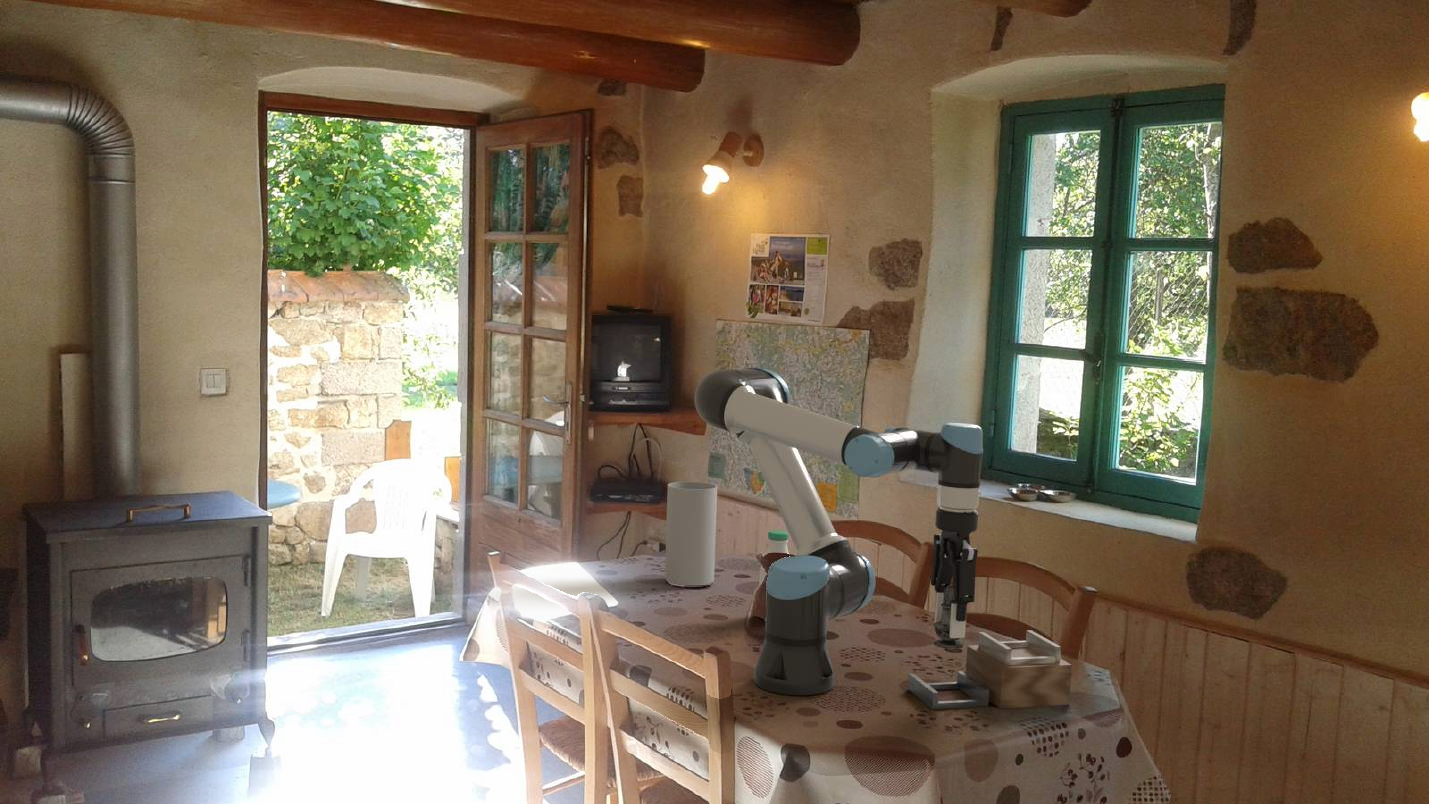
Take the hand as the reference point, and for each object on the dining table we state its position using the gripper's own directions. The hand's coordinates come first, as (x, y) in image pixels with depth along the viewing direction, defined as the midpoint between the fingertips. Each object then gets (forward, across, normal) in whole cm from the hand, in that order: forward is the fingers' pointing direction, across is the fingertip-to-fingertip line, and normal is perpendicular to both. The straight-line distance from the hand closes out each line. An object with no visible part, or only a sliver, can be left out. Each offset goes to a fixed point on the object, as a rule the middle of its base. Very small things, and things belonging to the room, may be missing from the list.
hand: (949, 631), depth 220 cm
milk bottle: (+13, +57, +16) cm, 60 cm away
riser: (+12, 0, -14) cm, 19 cm away
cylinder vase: (+14, +92, +28) cm, 97 cm away
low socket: (+12, 0, 0) cm, 12 cm away
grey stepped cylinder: (+3, 0, 0) cm, 3 cm away
